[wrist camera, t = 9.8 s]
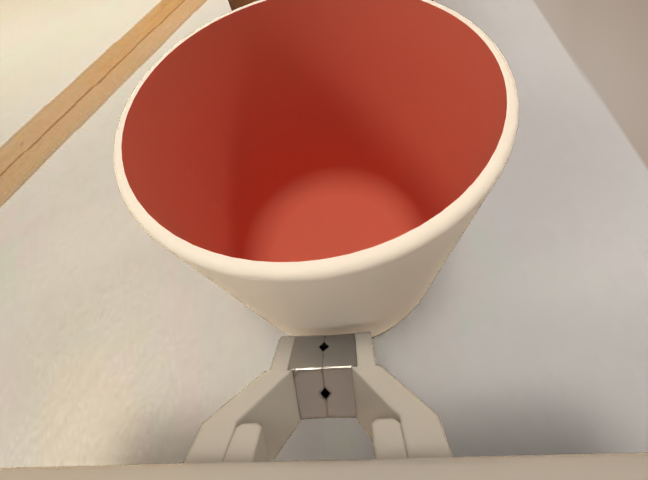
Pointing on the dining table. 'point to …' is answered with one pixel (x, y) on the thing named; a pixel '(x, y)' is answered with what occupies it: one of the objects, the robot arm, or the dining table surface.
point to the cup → (319, 154)
